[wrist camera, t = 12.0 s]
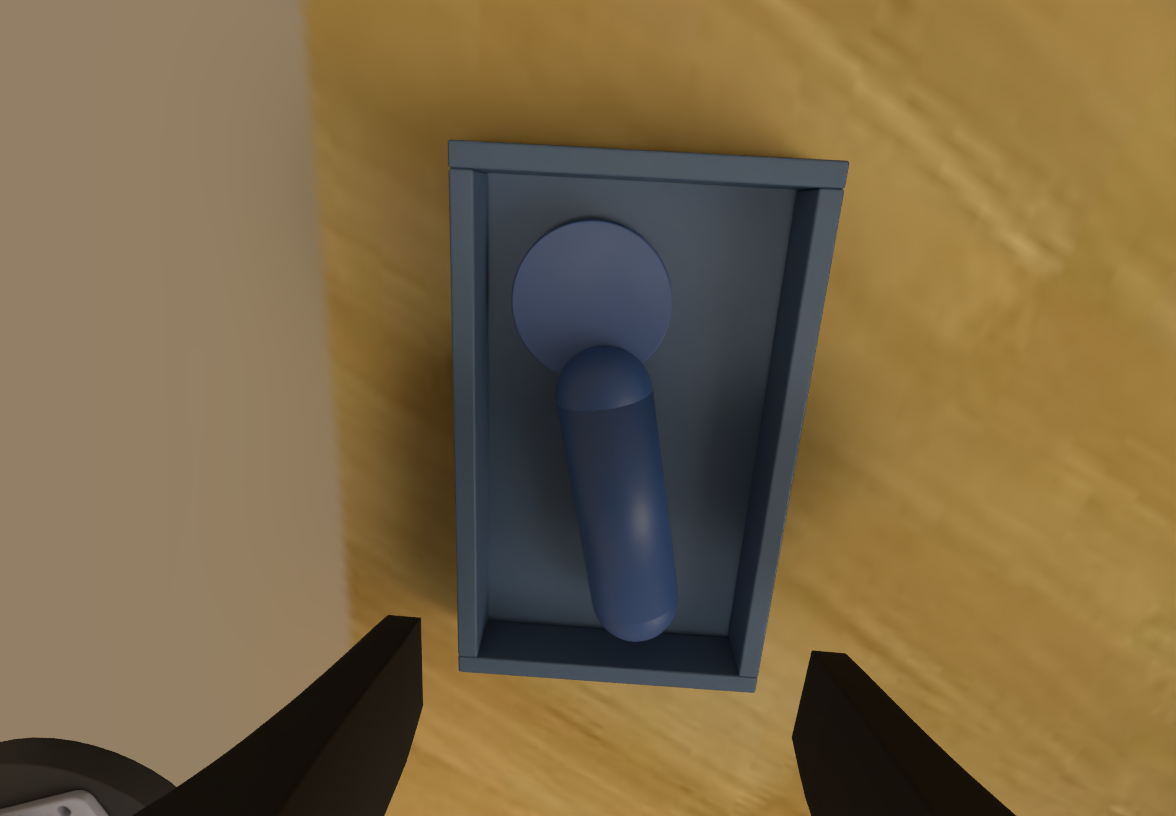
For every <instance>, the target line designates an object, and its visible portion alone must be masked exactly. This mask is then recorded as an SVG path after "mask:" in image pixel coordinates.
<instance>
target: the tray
mask: <svg viewBox="0 0 1176 816" xmlns="http://www.w3.org/2000/svg"><path fill="white" fill-rule="evenodd" d="M448 165H449V167H451V168H450V169H449V212H450V262H451V312H452V361H453V411H454V461H455V510H456V560H457V610H458V654H459V657H458V660H459V671H461V672H474V673H487V674H501V675H515V676H529V677H543V678H557V679H570V680H584V681H598V682H612V683H626V684H640V685H654V686H667V687H681V688H695V689H709V690H723V691H737V692H751V693H754V692H755V689H756V683H757V676H758V672H759V667H760V661H761V656H762V650H763V644H764V639H765V633H766V627H767V622H768V616H769V611H770V605H771V599H772V594H773V588H774V582H775V577H776V571H777V566H778V560H779V554H780V549H781V543H782V537H783V532H784V526H785V521H786V515H787V509H788V504H789V498H790V492H791V487H792V481H793V476H794V470H795V464H796V459H797V453H798V447H799V442H800V436H801V431H802V425H803V419H804V414H805V408H806V402H807V397H808V391H809V386H810V380H811V374H812V369H813V363H814V357H815V352H816V346H817V341H818V335H819V329H820V324H821V318H822V313H823V307H824V301H825V296H826V290H827V284H828V279H829V273H830V268H831V262H832V256H833V251H834V245H835V239H836V234H837V228H838V223H839V217H840V211H841V206H842V200H843V194H844V190H843V188H844V187H845V184H846V178H847V173H848V167H849V162H848V161H839V160H821V159H802V158H783V157H765V156H746V155H727V154H709V153H690V152H671V151H652V150H634V149H615V148H596V147H578V146H559V145H540V144H521V143H503V142H484V141H465V140H449V141H448ZM584 219H602V220H608V221H613V222H616V223H619V224H622V225H624V226H626V227H628V228H630V229H632V230H633V231H635V232H636V233H637V234H639V235H640V236H641V237H642V238H644V239H645V240H646V241H647V242H648V243H649V244H650V245H651V246H652V248H653V249H654V250H655V251H656V252H657V254H658V255H659V257H660V258H661V260H662V261H663V264H664V266H665V268H666V270H667V272H668V276H669V279H670V282H671V288H672V298H673V305H672V315H671V319H670V324H669V327H668V329H667V332H666V335H665V336H664V338H663V340H662V342H661V344H660V345H659V347H658V348H657V350H656V351H655V352H654V353H653V354H652V356H651V357H650V358H649V359H648V360H647V361H646V362H644V363H643V366H644V367H645V368H646V370H647V372H648V374H649V376H650V378H651V382H652V387H653V393H654V402H655V410H656V418H657V426H658V434H659V442H660V450H661V458H662V466H663V474H664V482H665V491H666V499H667V507H668V515H669V523H670V531H671V539H672V547H673V555H674V563H675V571H676V580H677V588H678V606H677V610H676V613H675V616H674V618H673V620H672V621H671V623H670V625H669V626H668V627H667V628H666V629H665V630H664V631H663V632H662V633H661V634H659V635H658V636H656V637H654V638H652V639H649V640H646V641H639V642H632V641H626V640H622V639H620V638H618V637H616V636H614V635H612V634H611V633H610V632H608V631H607V630H606V629H605V628H604V627H603V625H602V624H601V623H600V621H599V620H598V618H597V616H596V614H595V611H594V608H593V604H592V599H591V593H590V588H589V582H588V577H587V571H586V565H585V560H584V554H583V548H582V543H581V537H580V531H579V526H578V520H577V514H576V509H575V503H574V497H573V492H572V486H571V480H570V475H569V469H568V464H567V458H566V452H565V447H564V441H563V435H562V430H561V424H560V418H559V413H558V407H557V397H556V390H557V383H558V380H559V377H560V375H559V374H557V373H555V372H553V371H551V370H550V369H548V368H546V367H545V366H544V365H542V364H541V363H540V362H539V361H538V360H537V359H536V358H535V357H534V356H533V355H532V354H531V353H530V352H529V351H528V349H527V348H526V346H525V345H524V343H523V342H522V340H521V338H520V336H519V334H518V332H517V329H516V327H515V323H514V319H513V315H512V307H511V294H512V286H513V282H514V278H515V274H516V272H517V269H518V267H519V265H520V263H521V261H522V259H523V258H524V256H525V254H526V253H527V252H528V251H529V249H530V248H531V247H532V246H533V245H534V244H535V243H536V242H537V241H538V240H539V239H540V238H541V237H543V236H544V235H545V234H547V233H548V232H550V231H552V230H553V229H555V228H557V227H559V226H562V225H564V224H567V223H570V222H574V221H578V220H584Z"/></svg>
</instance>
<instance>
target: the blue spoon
mask: <svg viewBox="0 0 1176 816" xmlns="http://www.w3.org/2000/svg"><path fill="white" fill-rule="evenodd" d="M672 305H673V298H672V288H671V282H670V279H669V276H668V272H667V270H666V268H665V266H664V264H663V261H662V260H661V258H660V257H659V255H658V254H657V252H656V251H655V250H654V249H653V248H652V246H651V245H650V244H649V243H648V242H647V241H646V240H645V239H644V238H642V237H641V236H640V235H639V234H637V233H636V232H635V231H633V230H632V229H630V228H628V227H626V226H624V225H622V224H619V223H616V222H613V221H608V220H602V219H584V220H578V221H574V222H570V223H567V224H564V225H562V226H559V227H557V228H555V229H553V230H552V231H550V232H548V233H547V234H545V235H544V236H543V237H541V238H540V239H539V240H538V241H537V242H536V243H535V244H534V245H533V246H532V247H531V248H530V249H529V251H528V252H527V253H526V254H525V256H524V258H523V259H522V261H521V263H520V265H519V267H518V269H517V272H516V274H515V278H514V282H513V286H512V294H511V307H512V315H513V319H514V323H515V327H516V329H517V332H518V334H519V336H520V338H521V340H522V342H523V343H524V345H525V346H526V348H527V349H528V351H529V352H530V353H531V354H532V355H533V356H534V357H535V358H536V359H537V360H538V361H539V362H540V363H541V364H542V365H544V366H545V367H546V368H548V369H550V370H551V371H553V372H555V373H557V374H559V375H560V377H559V380H558V383H557V390H556V397H557V407H558V413H559V418H560V424H561V430H562V435H563V441H564V447H565V452H566V458H567V464H568V469H569V475H570V480H571V486H572V492H573V497H574V503H575V509H576V514H577V520H578V526H579V531H580V537H581V543H582V548H583V554H584V560H585V565H586V571H587V577H588V582H589V588H590V593H591V599H592V604H593V608H594V611H595V614H596V616H597V618H598V620H599V621H600V623H601V624H602V625H603V627H604V628H605V629H606V630H607V631H608V632H610V633H611V634H612V635H614V636H616V637H618V638H620V639H622V640H626V641H632V642H639V641H646V640H649V639H652V638H654V637H656V636H658V635H659V634H661V633H662V632H663V631H664V630H665V629H666V628H667V627H668V626H669V625H670V623H671V621H672V620H673V618H674V616H675V613H676V610H677V606H678V588H677V580H676V571H675V563H674V555H673V547H672V539H671V531H670V523H669V515H668V507H667V499H666V491H665V482H664V474H663V466H662V458H661V450H660V442H659V434H658V426H657V418H656V410H655V402H654V393H653V387H652V382H651V378H650V376H649V374H648V372H647V370H646V368H645V367H644V366H643V363H644V362H646V361H647V360H648V359H649V358H650V357H651V356H652V354H653V353H654V352H655V351H656V350H657V348H658V347H659V345H660V344H661V342H662V340H663V338H664V336H665V335H666V332H667V329H668V327H669V324H670V319H671V315H672Z"/></svg>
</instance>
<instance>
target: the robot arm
mask: <svg viewBox="0 0 1176 816" xmlns="http://www.w3.org/2000/svg"><path fill="white" fill-rule="evenodd" d="M422 707H423V688H422V646H421V618H417V617H405V616H393V615H388V616H387V617H385V618H384V619H383V620H382V621H381V622H379V623H378V624H377V625H376V626H375V627H374V628H373V629H372V630H371V631H370V632H369V633H367V634H366V635H365V636H364V637H363V638H362V639H361V640H360V641H359V642H358V643H357V644H356V645H355V646H353V647H352V648H351V649H350V650H349V651H348V652H347V653H346V654H345V655H344V656H343V657H341V658H340V659H339V660H338V661H337V662H336V663H335V664H334V665H333V666H332V667H330V668H329V669H328V670H327V671H326V672H325V673H324V674H323V675H322V676H320V677H319V678H318V679H317V680H316V681H314V682H313V683H312V684H311V685H310V686H309V687H308V688H307V689H305V690H304V691H303V692H302V693H301V694H300V695H298V696H297V697H296V698H295V699H294V700H292V701H291V702H290V703H289V704H288V705H286V706H285V707H284V708H283V709H281V710H280V711H279V712H278V713H276V714H275V715H274V716H273V717H271V718H270V719H269V720H268V721H266V722H265V723H264V724H263V725H262V726H260V727H259V728H258V729H257V730H255V731H254V732H253V733H252V734H250V735H249V736H248V737H246V738H245V739H244V740H243V741H241V742H240V743H239V744H237V745H236V746H235V747H233V748H232V749H231V750H229V751H228V752H227V753H226V754H224V755H223V756H221V757H220V758H218V759H217V760H216V761H214V762H213V763H211V764H210V765H209V766H207V767H206V768H204V769H203V770H201V771H200V772H199V773H197V774H196V775H194V776H193V777H191V778H190V779H188V780H187V781H186V782H184V783H183V784H181V785H179V786H178V787H176V788H175V789H173V790H172V791H170V792H169V793H167V794H166V795H164V796H162V797H161V798H159V799H158V800H156V801H154V802H153V803H151V804H149V805H148V806H146V807H145V808H143V809H141V810H140V811H138V812H137V813H135V814H133V815H132V816H384V815H385V813H386V810H387V808H388V805H389V803H390V801H391V798H392V796H393V793H394V791H395V788H396V786H397V784H398V781H399V779H400V776H401V774H402V771H403V769H404V767H405V764H406V761H407V758H408V755H409V751H410V748H411V745H412V742H413V738H414V735H415V731H416V728H417V724H418V721H419V717H420V714H421V710H422ZM792 740H793V745H794V750H795V754H796V759H797V764H798V768H799V773H800V777H801V781H802V785H803V789H804V794H805V798H806V801H807V804H808V807H809V810H810V813H811V816H1016V815H1015V814H1014V813H1012V812H1011V811H1010V810H1009V809H1008V808H1007V807H1005V806H1004V805H1003V804H1002V803H1001V802H1000V801H999V800H998V799H997V798H995V797H994V796H993V795H992V794H991V793H990V792H989V791H988V790H986V789H985V788H984V787H983V786H982V785H981V784H980V783H979V782H977V781H976V780H975V779H974V778H973V777H972V776H971V775H970V774H968V773H967V772H966V771H965V770H964V769H963V768H962V767H961V766H960V765H959V764H958V763H957V762H956V761H954V760H953V759H952V758H951V757H950V756H949V755H948V754H947V753H946V752H945V751H944V750H943V749H942V748H941V747H940V746H939V745H938V744H937V743H935V742H934V741H933V740H932V739H931V738H930V737H929V736H928V735H927V734H926V733H925V732H924V731H923V730H922V729H921V728H920V727H919V726H918V725H917V724H916V723H915V722H914V721H913V720H912V719H911V718H910V717H909V716H908V715H907V714H906V713H905V712H904V711H903V710H902V709H901V708H900V707H899V706H898V705H897V704H896V703H895V702H894V701H893V700H892V699H891V698H890V697H889V696H888V695H887V694H886V693H885V692H884V691H883V690H882V689H881V688H880V687H879V686H878V685H877V684H876V683H875V682H874V681H873V680H872V679H871V678H870V677H869V676H868V675H867V674H866V673H865V672H864V671H863V670H862V669H861V668H860V667H859V666H858V665H857V664H856V663H855V662H854V661H853V660H852V659H851V658H850V657H849V656H848V655H847V654H845V653H834V652H822V651H812V652H811V657H810V661H809V665H808V670H807V674H806V678H805V683H804V687H803V691H802V696H801V700H800V704H799V709H798V713H797V717H796V722H795V726H794V730H793V735H792ZM0 816H109V815H108V813H107V812H106V811H105V809H104V808H103V807H102V806H101V804H100V803H99V802H98V801H97V799H96V798H95V797H94V796H93V795H92V794H91V793H90V792H88V791H85V790H74V791H70V792H66V793H62V794H58V795H54V796H50V797H46V798H42V799H38V800H34V801H31V802H27V803H23V804H19V805H15V806H11V807H7V808H3V809H0Z"/></svg>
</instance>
